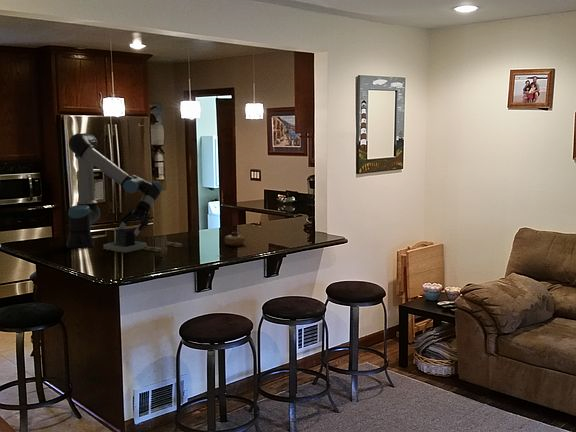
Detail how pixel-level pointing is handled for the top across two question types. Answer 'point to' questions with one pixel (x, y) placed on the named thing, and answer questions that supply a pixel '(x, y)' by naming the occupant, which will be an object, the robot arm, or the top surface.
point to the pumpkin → (234, 239)
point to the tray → (124, 249)
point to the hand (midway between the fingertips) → (126, 233)
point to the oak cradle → (161, 248)
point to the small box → (125, 237)
